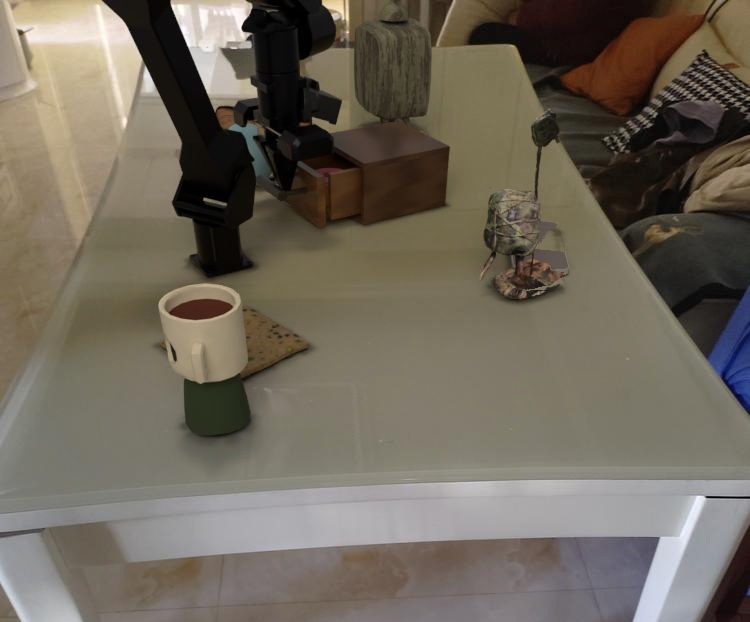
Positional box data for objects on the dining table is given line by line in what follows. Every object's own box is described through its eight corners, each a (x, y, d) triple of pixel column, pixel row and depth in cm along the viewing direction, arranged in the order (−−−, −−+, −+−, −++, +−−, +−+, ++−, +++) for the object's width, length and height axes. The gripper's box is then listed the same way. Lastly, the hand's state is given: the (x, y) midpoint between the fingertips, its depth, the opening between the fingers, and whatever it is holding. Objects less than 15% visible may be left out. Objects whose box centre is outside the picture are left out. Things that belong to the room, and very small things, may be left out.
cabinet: (363, 225, 109) (363, 163, 103) (318, 194, 117) (316, 135, 111) (445, 205, 114) (450, 146, 108) (396, 177, 123) (398, 120, 117)
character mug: (190, 391, 77) (168, 273, 69) (259, 390, 78) (246, 272, 69) (174, 458, 69) (147, 334, 61) (251, 457, 70) (235, 333, 61)
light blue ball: (197, 119, 117) (273, 115, 116) (209, 177, 123) (281, 174, 122) (187, 134, 112) (266, 130, 111) (200, 194, 118) (275, 191, 117)
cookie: (158, 345, 84) (156, 337, 83) (245, 308, 90) (244, 301, 89) (222, 389, 77) (221, 382, 77) (310, 347, 84) (310, 339, 83)
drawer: (288, 234, 104) (285, 184, 99) (250, 204, 111) (245, 156, 107) (398, 208, 111) (400, 161, 106) (356, 181, 119) (356, 136, 114)
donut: (359, 201, 110) (359, 177, 108) (321, 209, 107) (320, 185, 105) (338, 186, 114) (337, 163, 112) (300, 194, 111) (299, 171, 109)
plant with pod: (469, 274, 98) (477, 109, 84) (554, 266, 98) (576, 101, 84) (482, 305, 92) (493, 134, 78) (572, 297, 92) (599, 125, 79)
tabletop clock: (427, 143, 135) (437, -24, 118) (380, 149, 133) (383, -21, 116) (396, 120, 145) (401, -38, 128) (352, 124, 142) (351, -36, 125)
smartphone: (513, 267, 97) (505, 219, 108) (512, 274, 98) (505, 225, 109) (570, 270, 97) (557, 221, 108) (569, 276, 98) (556, 227, 108)
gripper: (369, 77, 93) (368, 202, 104) (299, 45, 105) (304, 161, 115) (289, 90, 89) (297, 219, 100) (225, 55, 100) (238, 174, 111)
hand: (285, 191), depth 106 cm, fingers closed
